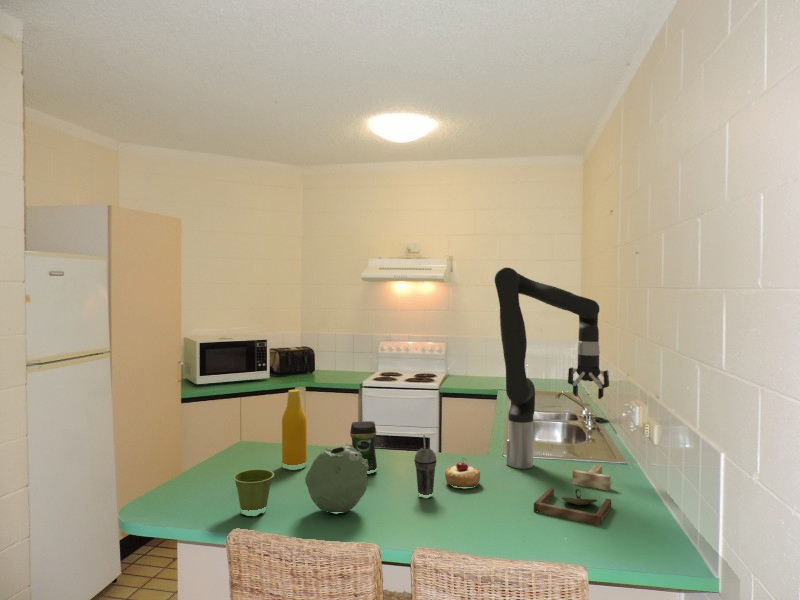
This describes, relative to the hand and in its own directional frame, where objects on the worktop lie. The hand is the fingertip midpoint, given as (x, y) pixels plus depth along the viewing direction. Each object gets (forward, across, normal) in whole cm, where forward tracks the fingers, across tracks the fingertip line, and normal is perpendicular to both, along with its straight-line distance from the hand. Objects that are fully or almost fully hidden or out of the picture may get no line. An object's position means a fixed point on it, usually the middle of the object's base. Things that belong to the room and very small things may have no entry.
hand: (588, 397), depth 200 cm
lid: (+27, +7, -36) cm, 46 cm away
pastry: (+28, -32, -39) cm, 57 cm away
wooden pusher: (+27, +6, -12) cm, 30 cm away
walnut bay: (+27, +6, -39) cm, 48 cm away
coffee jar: (+28, -68, -47) cm, 87 cm away
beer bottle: (+28, -93, -57) cm, 113 cm away
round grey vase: (+28, -52, -80) cm, 100 cm away
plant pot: (+28, -73, -94) cm, 122 cm away
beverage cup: (+28, -37, -55) cm, 72 cm away
